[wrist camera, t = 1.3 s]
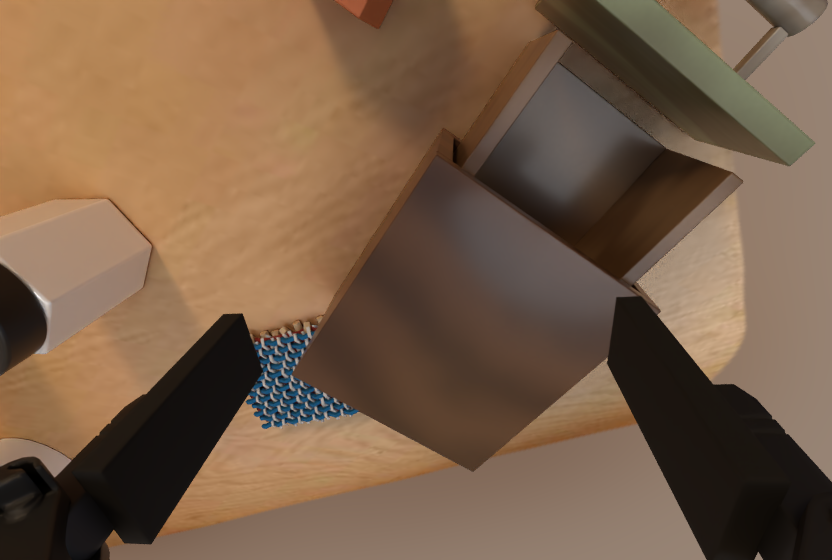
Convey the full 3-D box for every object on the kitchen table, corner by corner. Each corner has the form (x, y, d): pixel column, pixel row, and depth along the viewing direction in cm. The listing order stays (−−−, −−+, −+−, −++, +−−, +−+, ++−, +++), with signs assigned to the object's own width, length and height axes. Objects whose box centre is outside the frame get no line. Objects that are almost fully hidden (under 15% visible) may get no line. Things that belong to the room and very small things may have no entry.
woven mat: (370, 402, 38) (366, 418, 36) (273, 418, 40) (264, 434, 39) (328, 312, 34) (321, 325, 32) (222, 336, 36) (209, 349, 34)
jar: (28, 223, 33) (-180, 296, 22) (87, 172, 30) (-116, 226, 19) (115, 306, 36) (-30, 405, 25) (175, 265, 33) (42, 356, 22)
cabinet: (443, 127, 26) (436, 154, 18) (600, 239, 29) (662, 311, 20) (334, 296, 33) (290, 375, 24) (469, 375, 36) (473, 472, 27)
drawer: (612, -112, 20) (698, -214, 13) (783, 48, 22) (936, 36, 15) (405, 202, 28) (388, 246, 21) (545, 294, 30) (572, 361, 23)
